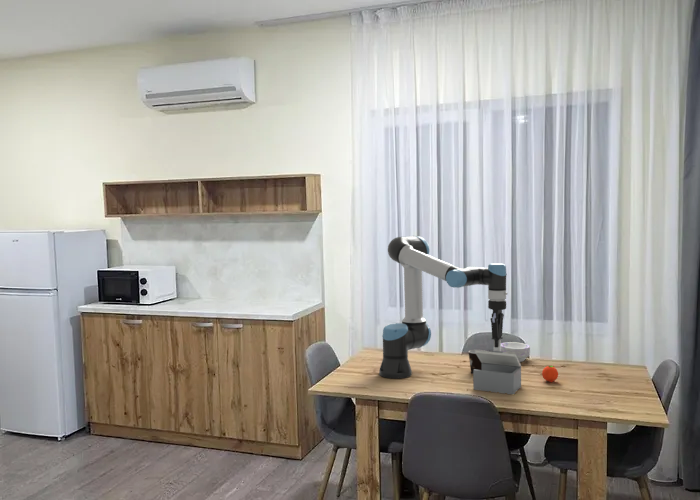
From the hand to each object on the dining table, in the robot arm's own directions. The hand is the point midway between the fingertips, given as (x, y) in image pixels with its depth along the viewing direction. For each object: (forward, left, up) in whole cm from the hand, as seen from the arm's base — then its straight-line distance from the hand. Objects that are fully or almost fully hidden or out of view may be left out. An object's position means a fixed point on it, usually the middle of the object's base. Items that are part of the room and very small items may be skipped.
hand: (497, 354), depth 267 cm
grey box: (-1, 0, -15) cm, 15 cm away
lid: (0, +1, -3) cm, 3 cm away
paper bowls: (-6, +54, -15) cm, 57 cm away
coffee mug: (-16, +23, -15) cm, 32 cm away
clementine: (+18, +22, -15) cm, 32 cm away
